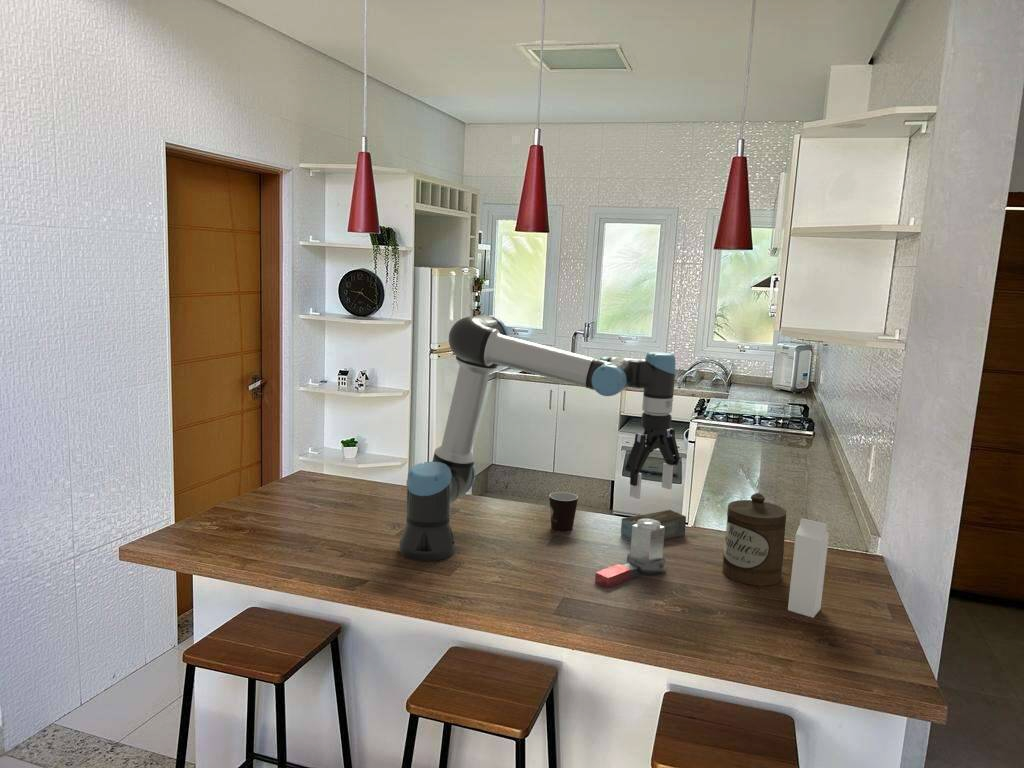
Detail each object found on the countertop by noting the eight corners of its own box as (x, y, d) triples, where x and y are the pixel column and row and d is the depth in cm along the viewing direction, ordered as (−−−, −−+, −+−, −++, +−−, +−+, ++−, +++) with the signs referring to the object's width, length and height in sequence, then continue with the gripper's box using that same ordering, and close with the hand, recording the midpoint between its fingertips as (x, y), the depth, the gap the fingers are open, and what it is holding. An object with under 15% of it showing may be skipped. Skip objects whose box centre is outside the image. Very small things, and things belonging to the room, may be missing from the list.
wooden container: (710, 570, 201) (717, 490, 198) (744, 559, 210) (751, 482, 207) (758, 591, 190) (766, 506, 186) (792, 578, 199) (801, 497, 195)
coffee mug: (574, 534, 223) (576, 502, 222) (545, 531, 225) (547, 499, 223) (579, 521, 235) (580, 490, 233) (551, 518, 236) (553, 487, 235)
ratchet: (616, 591, 186) (618, 566, 185) (586, 578, 193) (587, 554, 192) (672, 568, 201) (674, 545, 200) (642, 557, 208) (643, 534, 207)
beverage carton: (618, 536, 224) (620, 515, 223) (668, 528, 233) (670, 507, 232) (635, 546, 217) (637, 524, 216) (686, 536, 227) (688, 515, 226)
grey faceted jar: (648, 564, 197) (651, 528, 195) (630, 557, 201) (632, 521, 199) (662, 559, 201) (665, 523, 199) (644, 552, 205) (646, 517, 204)
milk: (795, 602, 184) (804, 514, 181) (821, 609, 181) (830, 520, 177) (787, 610, 179) (796, 521, 176) (813, 618, 176) (823, 527, 172)
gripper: (638, 420, 183) (632, 505, 187) (697, 410, 200) (690, 487, 204) (614, 415, 189) (609, 497, 192) (673, 405, 206) (667, 481, 209)
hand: (651, 492), depth 198 cm, fingers open, 13 cm apart
